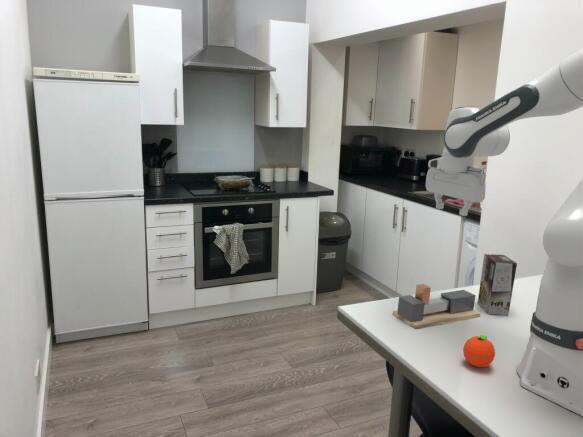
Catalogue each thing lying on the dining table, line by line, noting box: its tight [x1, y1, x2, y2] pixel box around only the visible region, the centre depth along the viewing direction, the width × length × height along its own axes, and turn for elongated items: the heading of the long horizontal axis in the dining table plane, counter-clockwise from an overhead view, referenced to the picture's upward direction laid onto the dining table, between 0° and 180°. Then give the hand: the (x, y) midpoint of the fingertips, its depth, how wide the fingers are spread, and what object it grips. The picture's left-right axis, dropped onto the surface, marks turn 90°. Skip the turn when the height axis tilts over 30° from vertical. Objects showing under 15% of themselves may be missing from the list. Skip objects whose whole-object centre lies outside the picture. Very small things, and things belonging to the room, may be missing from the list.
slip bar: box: [414, 283, 451, 314], centre depth 135 cm, size 3×15×8 cm, turn 116°
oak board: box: [392, 309, 482, 330], centre depth 137 cm, size 10×24×1 cm, turn 116°
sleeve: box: [440, 289, 476, 314], centre depth 140 cm, size 5×9×5 cm, turn 116°
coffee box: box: [477, 253, 518, 316], centre depth 143 cm, size 9×6×16 cm
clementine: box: [462, 334, 496, 368], centre depth 110 cm, size 8×7×7 cm
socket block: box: [397, 294, 425, 322], centre depth 132 cm, size 6×4×5 cm, turn 26°
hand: (451, 211), depth 139 cm, fingers open, 8 cm apart
